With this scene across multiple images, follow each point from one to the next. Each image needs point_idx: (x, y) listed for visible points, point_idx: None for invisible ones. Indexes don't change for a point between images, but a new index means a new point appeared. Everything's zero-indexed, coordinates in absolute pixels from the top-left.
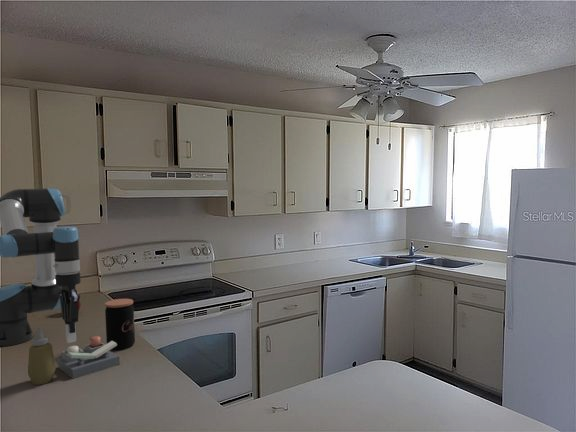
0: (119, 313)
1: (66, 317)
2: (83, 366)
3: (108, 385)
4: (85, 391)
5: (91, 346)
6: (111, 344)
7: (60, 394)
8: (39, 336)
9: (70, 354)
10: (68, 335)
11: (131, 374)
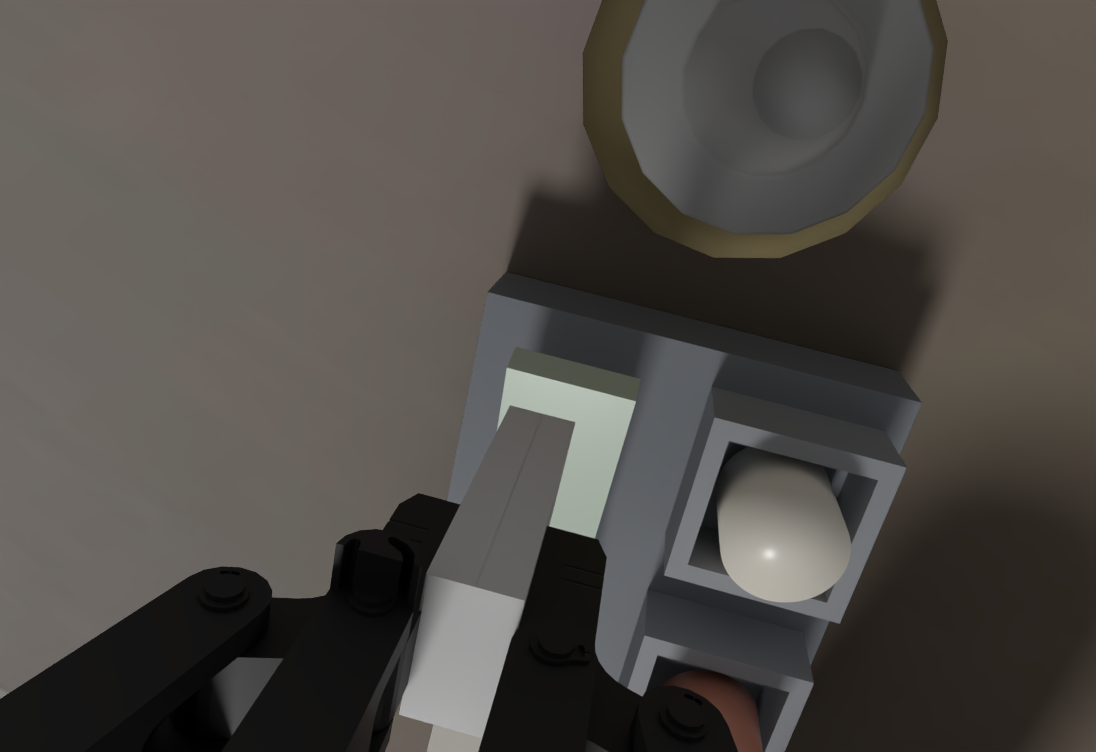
0: None
1: (492, 720)
2: (475, 394)
3: (137, 326)
4: (174, 162)
5: (704, 683)
6: (458, 747)
7: (288, 6)
8: (716, 34)
9: (554, 377)
10: (484, 468)
11: (184, 533)
